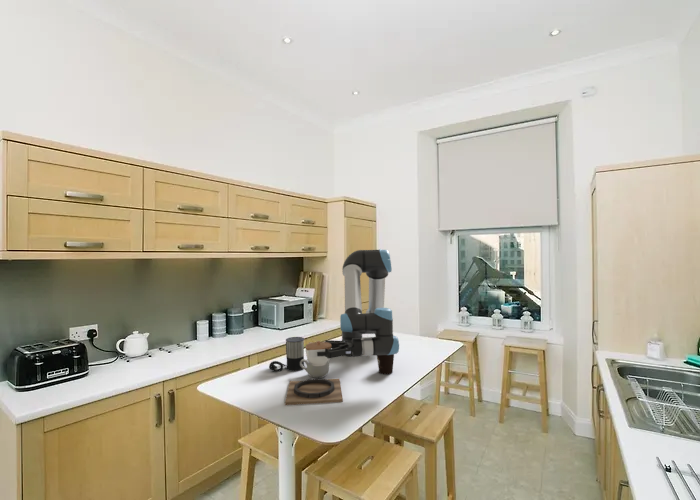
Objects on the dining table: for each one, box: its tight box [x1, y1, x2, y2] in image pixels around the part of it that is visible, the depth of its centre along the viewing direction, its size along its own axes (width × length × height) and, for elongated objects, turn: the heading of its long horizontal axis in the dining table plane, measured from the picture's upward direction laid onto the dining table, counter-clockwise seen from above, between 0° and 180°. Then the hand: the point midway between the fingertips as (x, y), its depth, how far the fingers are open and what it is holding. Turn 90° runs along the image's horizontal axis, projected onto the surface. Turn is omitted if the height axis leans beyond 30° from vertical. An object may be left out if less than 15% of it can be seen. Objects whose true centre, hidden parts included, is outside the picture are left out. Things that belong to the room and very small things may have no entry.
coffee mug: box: [376, 354, 395, 375], centre depth 165 cm, size 12×9×10 cm
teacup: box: [300, 358, 330, 379], centre depth 161 cm, size 14×11×8 cm
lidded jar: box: [305, 340, 332, 366], centre depth 142 cm, size 11×11×9 cm
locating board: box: [284, 377, 344, 406], centre depth 142 cm, size 22×22×2 cm
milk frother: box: [268, 336, 306, 372], centre depth 171 cm, size 14×16×15 cm
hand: (308, 349), depth 141 cm, fingers closed on lidded jar, 11 cm apart
